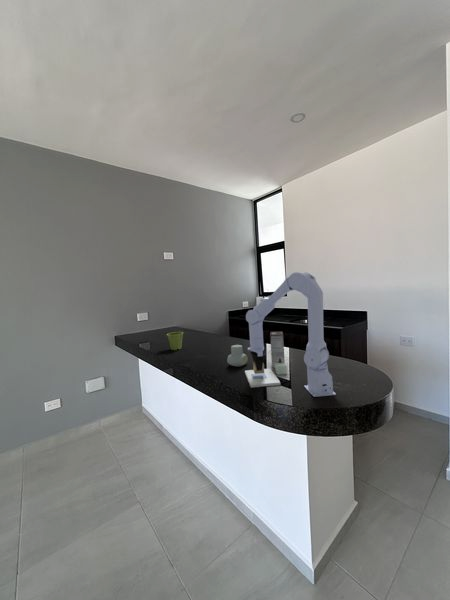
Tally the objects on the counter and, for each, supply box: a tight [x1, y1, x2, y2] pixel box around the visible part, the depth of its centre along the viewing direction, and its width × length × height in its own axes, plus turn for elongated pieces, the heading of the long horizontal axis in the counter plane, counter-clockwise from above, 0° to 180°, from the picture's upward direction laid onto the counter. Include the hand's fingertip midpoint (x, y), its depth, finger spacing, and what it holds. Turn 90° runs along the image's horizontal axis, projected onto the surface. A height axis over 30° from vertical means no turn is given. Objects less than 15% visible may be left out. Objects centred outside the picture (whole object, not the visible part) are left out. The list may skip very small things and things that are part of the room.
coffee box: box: [269, 331, 286, 368], centre depth 126 cm, size 9×6×16 cm
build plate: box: [244, 368, 281, 388], centre depth 108 cm, size 18×12×1 cm, turn 3°
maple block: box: [252, 361, 265, 374], centre depth 108 cm, size 4×4×4 cm
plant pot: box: [166, 331, 184, 351], centre depth 177 cm, size 12×12×11 cm
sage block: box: [274, 363, 287, 376], centre depth 114 cm, size 4×4×4 cm
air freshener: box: [226, 344, 249, 367], centre depth 130 cm, size 11×8×10 cm
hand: (258, 368), depth 108 cm, fingers closed on maple block, 4 cm apart
